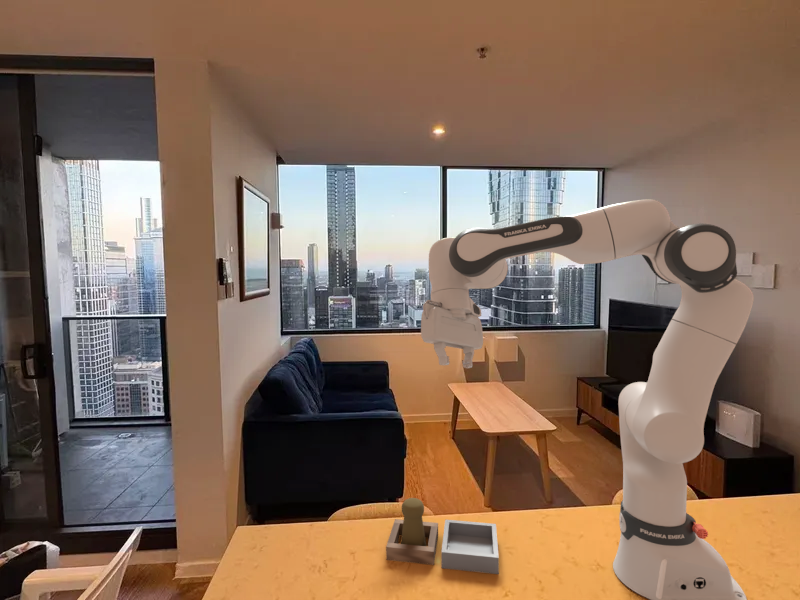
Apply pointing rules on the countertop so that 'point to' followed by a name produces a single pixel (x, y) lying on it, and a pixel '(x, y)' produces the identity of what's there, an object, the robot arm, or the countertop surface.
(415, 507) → the olive pawn
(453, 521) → the slate tray
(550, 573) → the countertop surface
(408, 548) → the walnut holder
